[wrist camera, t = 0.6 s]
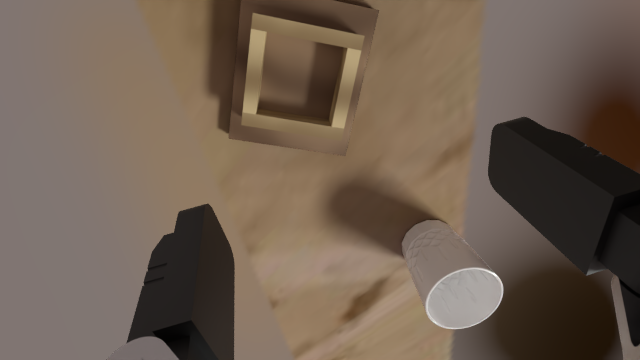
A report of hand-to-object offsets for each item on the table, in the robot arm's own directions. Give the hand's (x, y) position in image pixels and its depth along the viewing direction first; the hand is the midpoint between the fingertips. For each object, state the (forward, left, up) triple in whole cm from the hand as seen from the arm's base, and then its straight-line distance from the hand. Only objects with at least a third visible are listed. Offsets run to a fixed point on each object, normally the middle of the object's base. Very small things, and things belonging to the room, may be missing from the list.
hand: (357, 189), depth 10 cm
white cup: (+18, +18, -27) cm, 37 cm away
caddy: (+1, -1, -27) cm, 27 cm away
